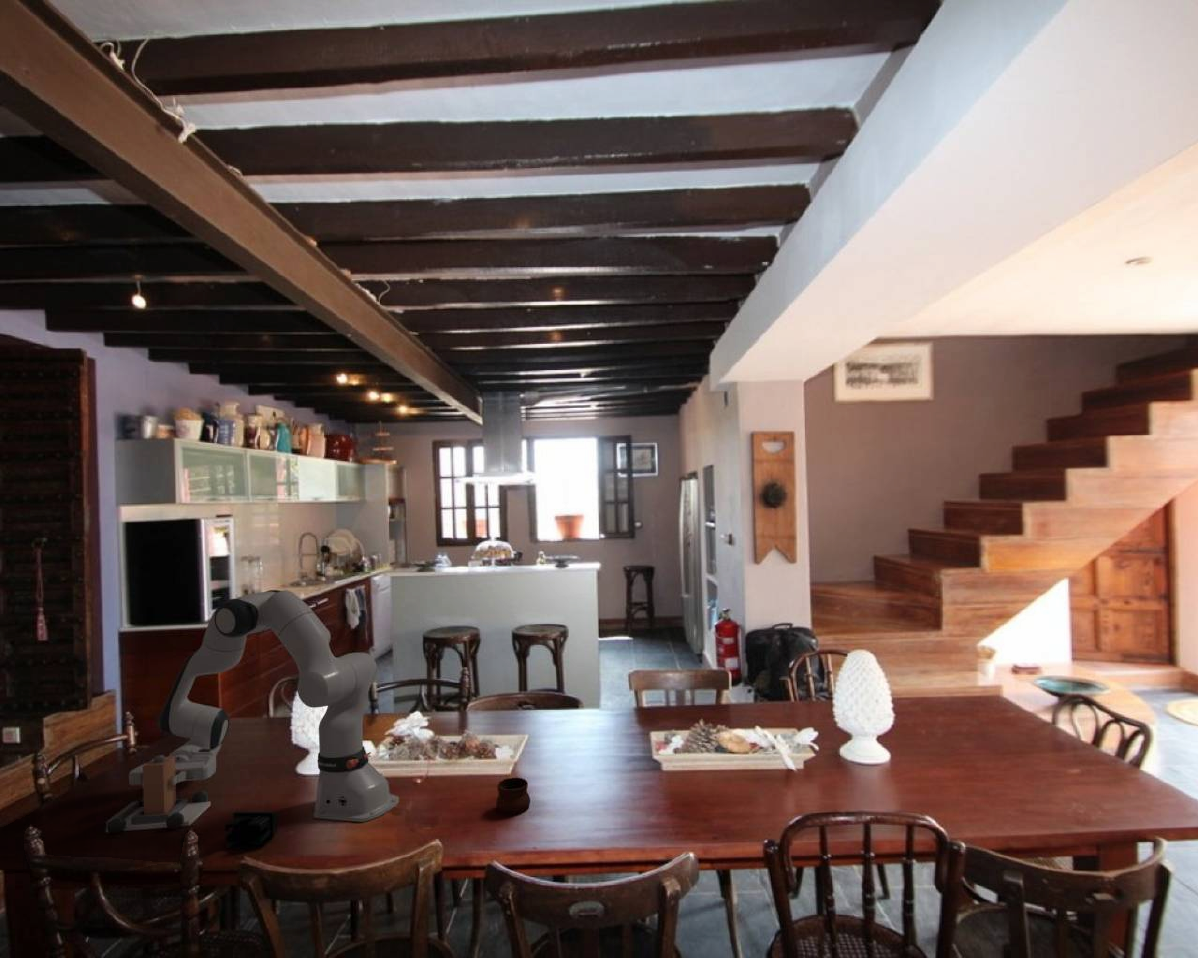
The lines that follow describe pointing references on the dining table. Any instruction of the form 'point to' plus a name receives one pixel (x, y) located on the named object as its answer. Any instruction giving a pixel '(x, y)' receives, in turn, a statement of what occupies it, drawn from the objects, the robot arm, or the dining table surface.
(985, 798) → the dining table surface
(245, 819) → the end cap
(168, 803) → the tall wooden block
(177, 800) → the chassis
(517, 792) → the ceramic pot
